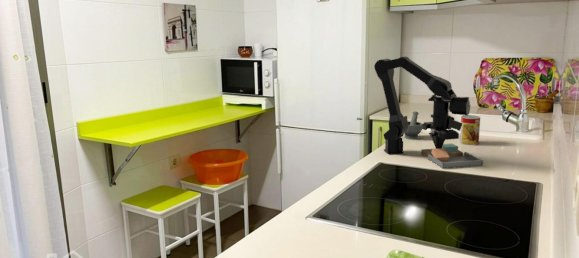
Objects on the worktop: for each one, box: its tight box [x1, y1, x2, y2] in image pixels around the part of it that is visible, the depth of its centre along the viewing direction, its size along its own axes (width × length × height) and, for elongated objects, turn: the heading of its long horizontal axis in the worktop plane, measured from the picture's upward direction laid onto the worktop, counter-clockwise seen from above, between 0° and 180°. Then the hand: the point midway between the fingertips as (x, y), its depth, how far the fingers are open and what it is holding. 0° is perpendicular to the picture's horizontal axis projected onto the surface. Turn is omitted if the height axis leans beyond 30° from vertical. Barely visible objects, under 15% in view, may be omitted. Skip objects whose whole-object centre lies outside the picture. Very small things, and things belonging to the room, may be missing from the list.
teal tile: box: [442, 143, 459, 152], centre depth 184 cm, size 5×5×2 cm
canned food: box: [459, 114, 481, 146], centre depth 200 cm, size 8×8×12 cm
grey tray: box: [427, 151, 483, 169], centre depth 173 cm, size 16×12×2 cm
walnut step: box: [420, 148, 464, 159], centre depth 183 cm, size 14×8×2 cm, turn 99°
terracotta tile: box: [431, 148, 449, 161], centre depth 176 cm, size 5×5×2 cm
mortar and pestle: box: [404, 110, 423, 140], centre depth 212 cm, size 11×9×12 cm
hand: (438, 151), depth 178 cm, fingers closed
